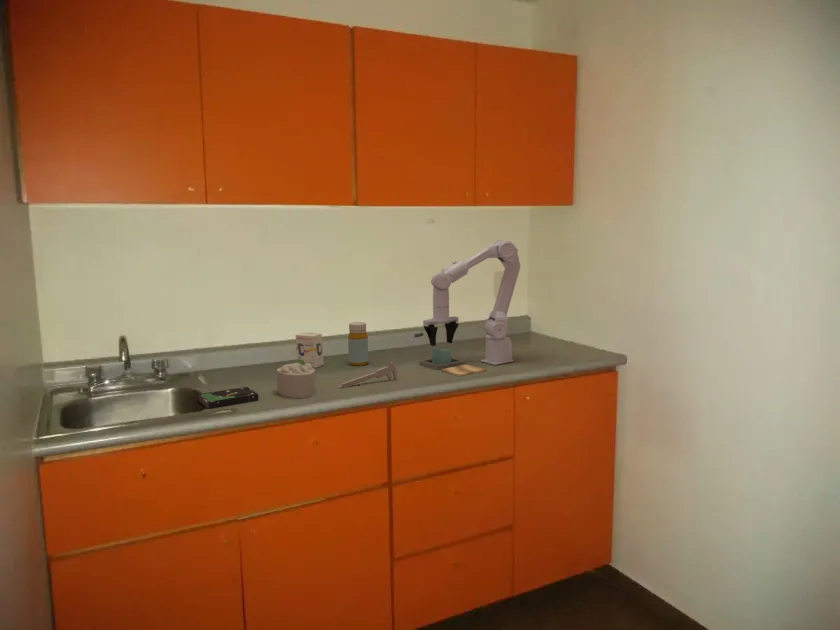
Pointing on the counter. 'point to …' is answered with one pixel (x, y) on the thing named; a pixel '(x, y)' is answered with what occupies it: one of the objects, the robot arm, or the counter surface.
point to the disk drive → (228, 397)
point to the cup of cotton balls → (296, 380)
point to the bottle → (358, 344)
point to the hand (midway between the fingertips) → (441, 344)
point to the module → (441, 355)
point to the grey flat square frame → (438, 367)
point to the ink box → (309, 349)
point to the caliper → (373, 375)
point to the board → (463, 370)
